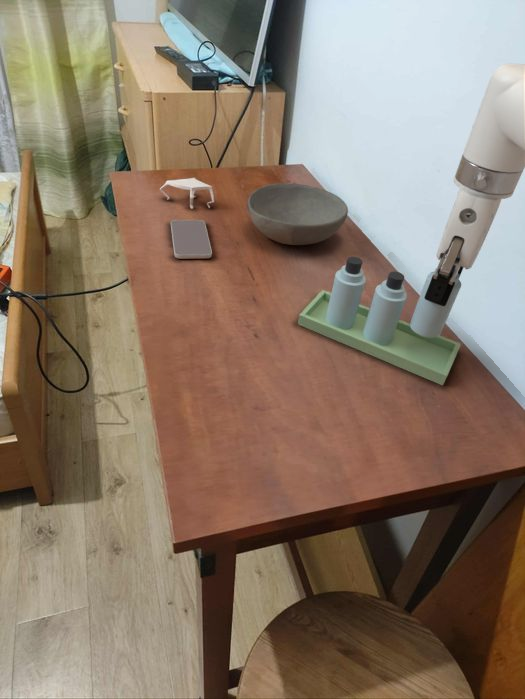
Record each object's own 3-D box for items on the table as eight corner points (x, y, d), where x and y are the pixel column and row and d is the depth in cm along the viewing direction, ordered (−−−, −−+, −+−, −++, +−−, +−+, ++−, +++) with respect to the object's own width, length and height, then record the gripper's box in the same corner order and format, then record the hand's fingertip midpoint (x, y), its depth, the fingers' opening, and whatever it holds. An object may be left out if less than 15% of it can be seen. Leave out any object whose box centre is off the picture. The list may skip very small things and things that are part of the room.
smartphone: (204, 220, 111) (212, 254, 100) (204, 223, 112) (212, 259, 101) (170, 219, 110) (174, 255, 98) (170, 223, 110) (174, 259, 99)
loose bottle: (444, 325, 82) (472, 261, 74) (436, 342, 79) (465, 275, 71) (414, 314, 84) (439, 249, 76) (405, 329, 80) (430, 263, 72)
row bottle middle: (395, 334, 87) (416, 274, 80) (386, 349, 84) (407, 288, 76) (368, 323, 89) (386, 263, 81) (358, 337, 86) (376, 276, 78)
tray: (456, 353, 86) (461, 343, 85) (442, 385, 79) (447, 376, 78) (320, 298, 94) (322, 289, 93) (297, 324, 88) (299, 314, 86)
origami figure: (209, 194, 123) (210, 175, 120) (214, 210, 117) (215, 190, 114) (159, 194, 121) (158, 173, 117) (161, 210, 114) (160, 189, 111)
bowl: (298, 272, 100) (304, 236, 95) (224, 231, 110) (226, 196, 105) (358, 240, 113) (366, 207, 108) (287, 206, 123) (292, 173, 118)
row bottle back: (358, 318, 90) (375, 259, 82) (347, 333, 86) (364, 272, 78) (332, 308, 91) (346, 249, 83) (320, 322, 88) (334, 261, 80)
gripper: (506, 207, 58) (450, 331, 70) (526, 165, 70) (475, 277, 81) (441, 187, 60) (398, 311, 72) (471, 150, 72) (430, 261, 84)
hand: (440, 292), depth 77 cm, fingers closed on loose bottle, 5 cm apart
